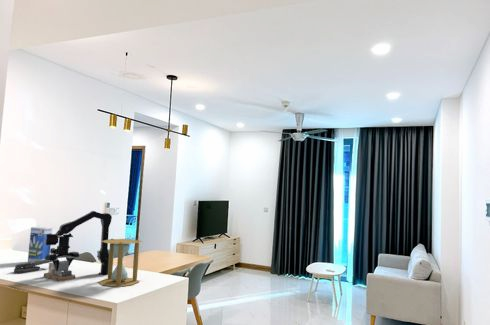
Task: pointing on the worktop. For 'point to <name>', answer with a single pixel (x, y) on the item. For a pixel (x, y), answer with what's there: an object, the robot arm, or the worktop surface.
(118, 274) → the hourglass
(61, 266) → the block
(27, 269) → the dark grey stapler
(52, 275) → the rail board
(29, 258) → the blue printed box
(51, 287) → the worktop surface
